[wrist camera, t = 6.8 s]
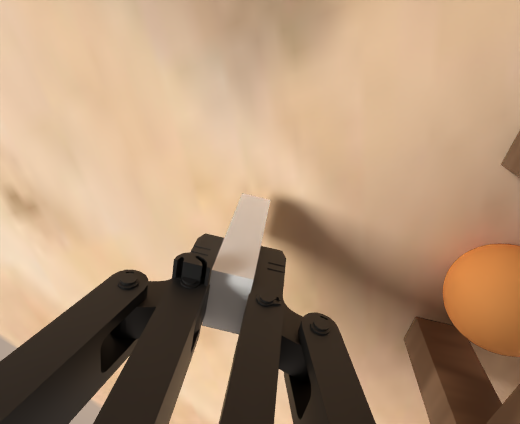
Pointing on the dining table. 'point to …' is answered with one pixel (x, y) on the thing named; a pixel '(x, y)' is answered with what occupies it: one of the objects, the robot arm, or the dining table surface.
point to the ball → (486, 297)
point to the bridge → (458, 365)
